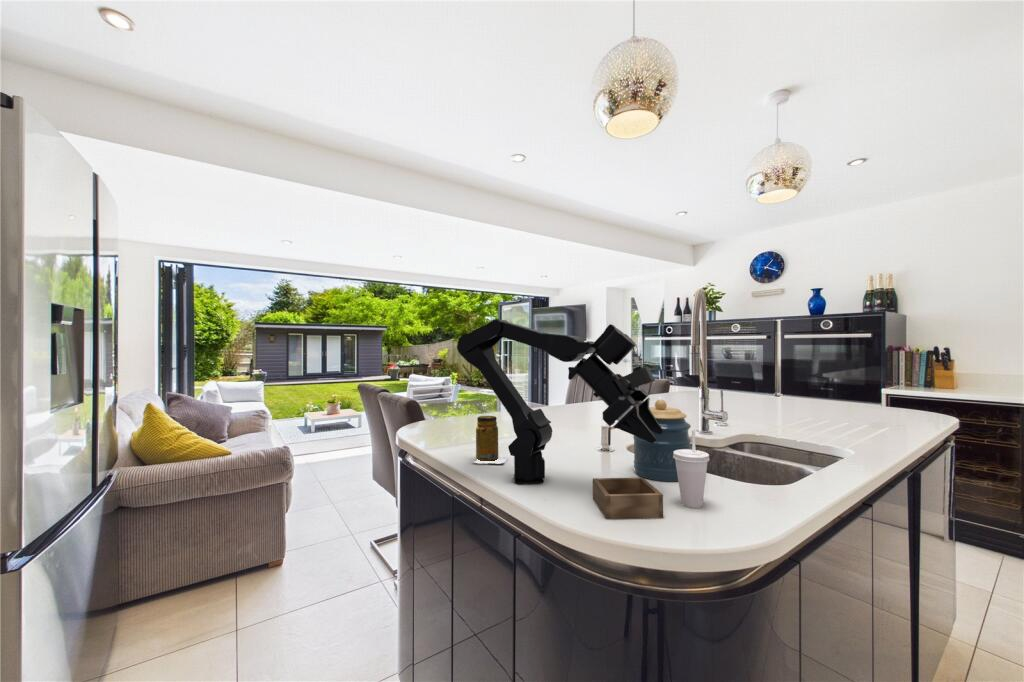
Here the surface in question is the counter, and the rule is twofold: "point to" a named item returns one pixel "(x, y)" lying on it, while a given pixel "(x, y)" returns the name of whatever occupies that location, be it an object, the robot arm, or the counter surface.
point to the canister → (662, 444)
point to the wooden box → (627, 498)
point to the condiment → (487, 438)
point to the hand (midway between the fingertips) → (658, 437)
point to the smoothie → (691, 474)
